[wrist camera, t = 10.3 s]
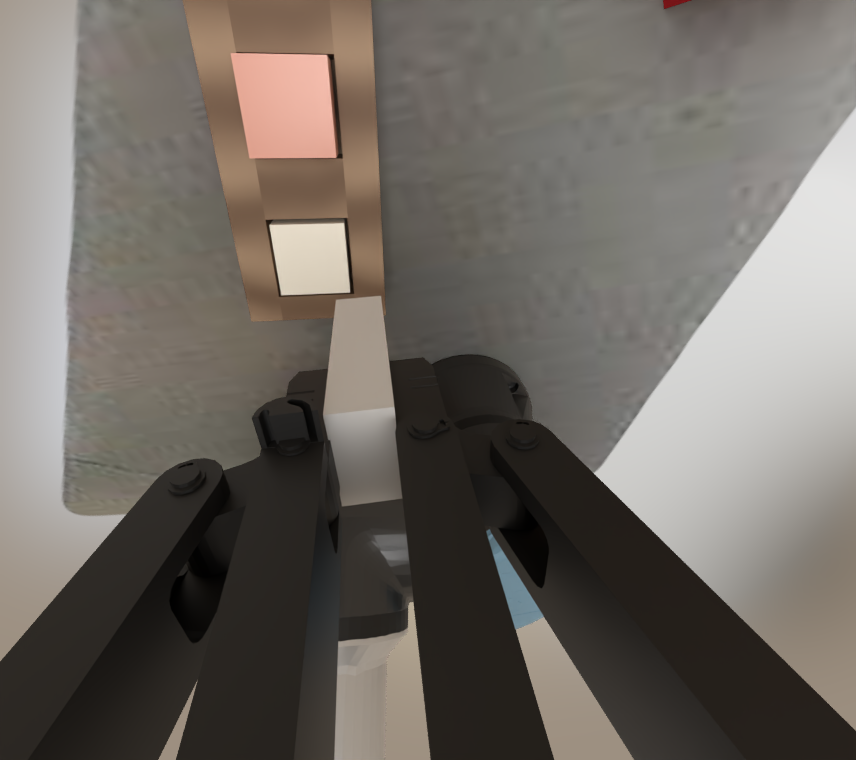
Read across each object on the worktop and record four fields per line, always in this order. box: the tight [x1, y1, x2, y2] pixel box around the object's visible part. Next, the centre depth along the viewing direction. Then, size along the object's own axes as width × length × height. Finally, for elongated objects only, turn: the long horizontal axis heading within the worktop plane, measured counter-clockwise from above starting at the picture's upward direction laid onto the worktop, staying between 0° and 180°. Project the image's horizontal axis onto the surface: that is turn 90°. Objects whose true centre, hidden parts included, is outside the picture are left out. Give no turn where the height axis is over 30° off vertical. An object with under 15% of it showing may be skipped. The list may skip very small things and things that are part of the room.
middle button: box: [231, 53, 339, 159], centre depth 29 cm, size 5×5×4 cm
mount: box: [183, 0, 386, 322], centre depth 32 cm, size 30×11×6 cm, turn 0°
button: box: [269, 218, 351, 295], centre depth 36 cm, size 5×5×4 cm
